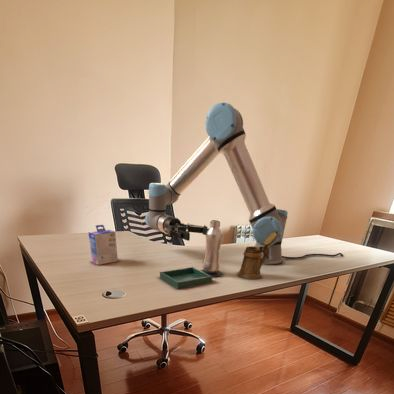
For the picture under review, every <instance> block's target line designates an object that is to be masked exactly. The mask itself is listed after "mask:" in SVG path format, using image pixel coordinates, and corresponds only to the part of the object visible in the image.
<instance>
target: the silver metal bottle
mask: <svg viewBox="0 0 394 394" xmlns="http://www.w3.org/2000/svg"><path fill="white" fill-rule="evenodd" d="M220 227H221V220H218V219H210V222H209V228H208V229H209V230H208V231H207V233H206V235H205V254H204V260H203V262H202V270H204V271H205V272H207V273H216V272H217V271H220V270H219V269H220V250H221V246H222V241H223V232H222V231H221V230H222V229H220Z"/></svg>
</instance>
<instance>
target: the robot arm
mask: <svg viewBox="0 0 394 394" xmlns="http://www.w3.org/2000/svg"><path fill="white" fill-rule="evenodd" d="M204 127H205V132H206V134H207V135H208V137H207V139H205V140H204V142H203V143H202V144H201V145H200V147H198V149H196V151H195V152H194V153H193V154H192V156H190V157H189V158H188V160H187V161H186V162H185V163H184V165H182V166H181V168H180V169H179V170H178V171H177V172H176V173H175V175H173V176H172V178H171V179H170V180H169V181H168V182H167V184H165V183H161V182H150V183H149V185H148V208H149V209H148V212H147V213H145V217H144V222H145V224H146V226H147V227H148V228H150V229H152V230H154V231H158V232H161V233H164V234H165V235H167V236H168V237H169V238H174V240H177V239H178V238H179V239H181V240H185V241H188V242H189V241H190V239H191V238H190V237H191V233H195V234H202V235H204V236H206V233H207V231H208V230H209V228H208V226H207V225H200V224H193V223H184V222H181V220H180V219H179V218H178V217H175V216H172V215H168V214H166V210H167V209H166V207H167V206H168V205H173V204H175V203H176V202H177V201H178V200H179V197H180V196H181V195H182V193H184V192H185V190H186V189H187V188H188V187H189V186H190V185H191V184H193V182H194V181H195V180H196V179H197V178H198V177H199V175H201V174H202V173H203V171H205V169H206V168H207V167H208V166H209V165H210V164H211V163H212V162H213V161H214V160H215V159H216V158H217V157H218V156H219V155H221V156H224V157H225V160H226V162H227V165H228V167H229V169H230V171H231V174H232V176H233V178H234V181H235V182H236V185H237V187H238V190H239V192H240V194H241V196H242V198H243V200H244V203H245V205H246V208H247V210H248V212H249V217H248V222H249V224H250V226H251V228H252V235H253V238H254V240H255V244H254V246H253V247H257V248H259V247H260V246H263V245H264V242H265V239H266V238H267V237H268V236H269V235H270V234H271V233H273V232H275V231H278V235H277V238H276V239H275V241H274V242H273V243H272V244H271V245H269V246H268V256H267V258H266V260H265V261H264V263H263V264H262V265H270V266H272V265H273V266H274V265H275V266H276V265H279V264H281V263H282V261H283V259H290V260H297V259H298V260H299V259H304V258H306V257H311V256H321V257H338V256H339V255H340V256H341V257H344V255H343V253H342V252H339V253H336V254H327V253H325V254H324V253H309V254H308V253H307V254H304V255H302V256H286V255H285V256H284V255H282V253H283V252H282V243H283V239H284V238H283V237H284V233H285V232H284V231H285V228H286V224H287V219H288V211H287V210H286V209H280V208H279V209H278V208H277V207H276V205H275V204H273V203H271V202H270V200H269V198H268V195H267V194H266V191H265V189H264V186H263V183H262V181H261V178H260V177H259V174H258V171H257V169H256V166H255V165H254V162H253V160H252V158H251V157H252V156H251V155H250V152H249V150H248V147H247V144H246V143H245V142H246V138H247V134H246V132H245V129H244V119H243V116H242V114H241V112H240V111H239V110H238V109H236V108H235V107H234V106H233V105H232V104H231V103H228V102H218V103H216V104H214V105H212V106H211V108H210V109H209V110H208V112H207V113H206V116H205V123H204ZM261 254H262V256H261V258H263V256H264V253H263V252H261ZM339 278H340V276H339V275H338V276H337V277H336V280H335V284H334V286H333V289H332V291H331V296H330V299H329V301H328V304H327V308H330V306H331V303H332V300H333V296H334V294H335V291H336V289H337V285H338V283H339Z"/></svg>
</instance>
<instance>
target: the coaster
mask: <svg viewBox="0 0 394 394" xmlns="http://www.w3.org/2000/svg"><path fill="white" fill-rule="evenodd" d="M200 271H202V272H204V273H206V274H208V275H210V276H212V278H218V277H221V276H222V275H223V273H222V272H221V271H220V270H218V271H217V272H216V273H207V272H205V271H204V270H203V269H200Z"/></svg>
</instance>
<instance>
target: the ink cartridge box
mask: <svg viewBox="0 0 394 394" xmlns="http://www.w3.org/2000/svg"><path fill="white" fill-rule="evenodd" d="M95 229H96V231H89V232H87V233H88V240H89V247H90V254H91V261H92V263H93V264H96V265H97V266H98V265H99V266H100V265H104V264H109V263H114V262H118V261H119V257H118V247H117V235H116V231H113V230H111V229H106V228H105V225H104V224H97V225H95Z"/></svg>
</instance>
